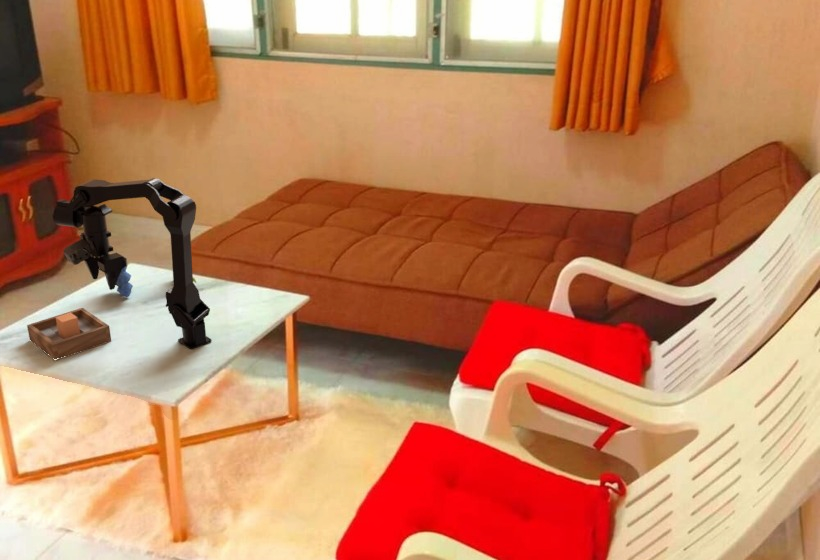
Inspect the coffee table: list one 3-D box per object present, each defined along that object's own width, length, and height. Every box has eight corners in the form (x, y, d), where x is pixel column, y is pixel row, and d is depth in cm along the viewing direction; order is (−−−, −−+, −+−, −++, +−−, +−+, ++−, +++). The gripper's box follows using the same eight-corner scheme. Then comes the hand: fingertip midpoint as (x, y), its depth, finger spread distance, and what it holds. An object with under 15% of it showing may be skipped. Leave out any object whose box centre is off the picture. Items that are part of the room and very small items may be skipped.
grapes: (102, 291, 232) (96, 254, 227) (124, 285, 236) (119, 249, 231) (116, 305, 224) (110, 267, 219) (138, 299, 227) (134, 261, 223)
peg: (81, 340, 204) (77, 317, 201) (66, 346, 201) (62, 322, 198) (74, 335, 206) (70, 312, 203) (59, 340, 203) (55, 317, 201)
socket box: (111, 340, 204) (109, 325, 202) (55, 360, 194) (52, 345, 192) (84, 322, 213) (82, 307, 211) (29, 340, 203) (26, 325, 201)
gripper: (48, 227, 200) (58, 282, 206) (81, 246, 188) (91, 304, 195) (89, 217, 207) (97, 270, 214) (124, 235, 196) (131, 291, 202)
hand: (103, 284), depth 206 cm, fingers open, 9 cm apart
